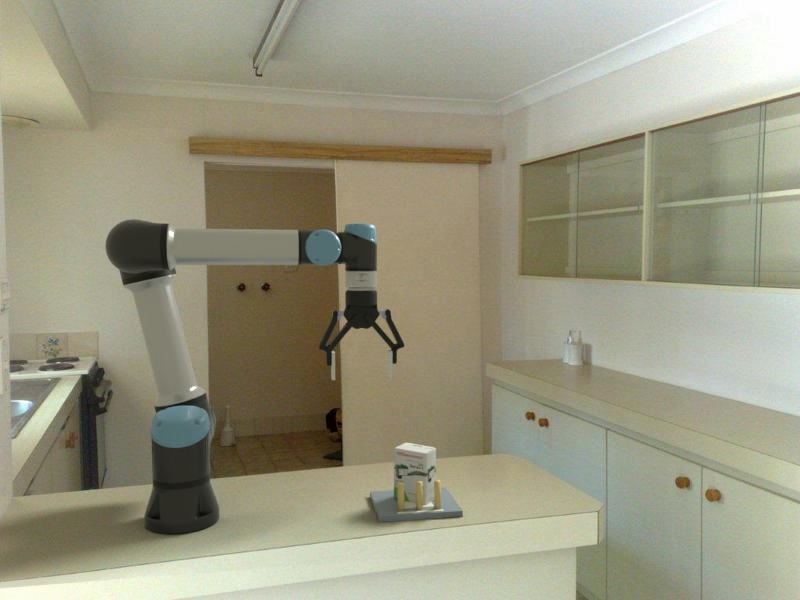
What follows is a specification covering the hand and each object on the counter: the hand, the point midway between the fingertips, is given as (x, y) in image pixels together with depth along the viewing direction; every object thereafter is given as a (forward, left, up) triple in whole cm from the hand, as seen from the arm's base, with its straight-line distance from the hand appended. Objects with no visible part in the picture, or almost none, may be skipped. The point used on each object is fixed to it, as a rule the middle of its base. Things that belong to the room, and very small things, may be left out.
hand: (361, 378), depth 171 cm
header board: (+10, -14, -27) cm, 32 cm away
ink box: (+10, -13, -26) cm, 30 cm away
